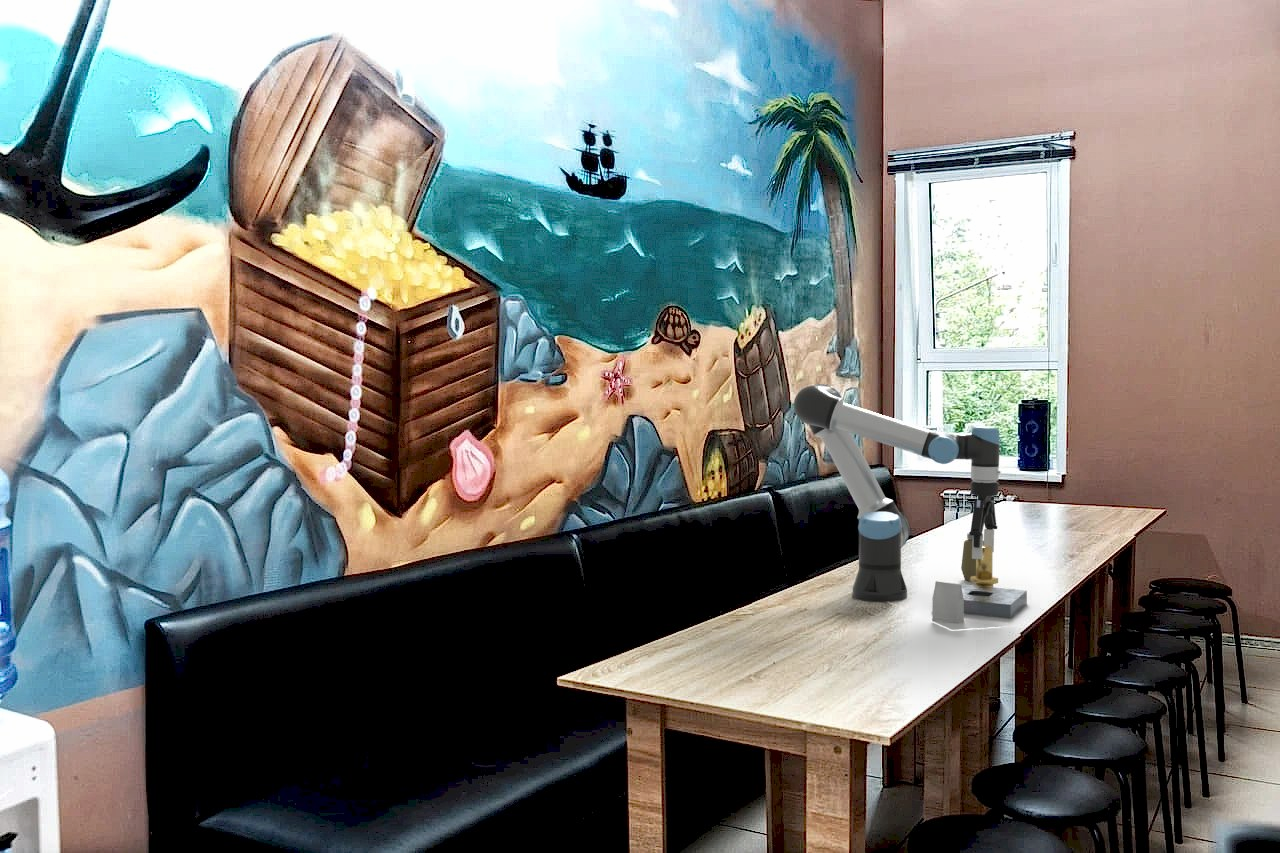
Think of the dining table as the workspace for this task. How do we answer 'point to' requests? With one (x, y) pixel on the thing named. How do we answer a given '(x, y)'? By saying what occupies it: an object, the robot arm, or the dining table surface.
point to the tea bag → (948, 602)
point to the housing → (993, 601)
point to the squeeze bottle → (968, 559)
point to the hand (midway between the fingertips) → (982, 555)
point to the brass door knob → (984, 569)
